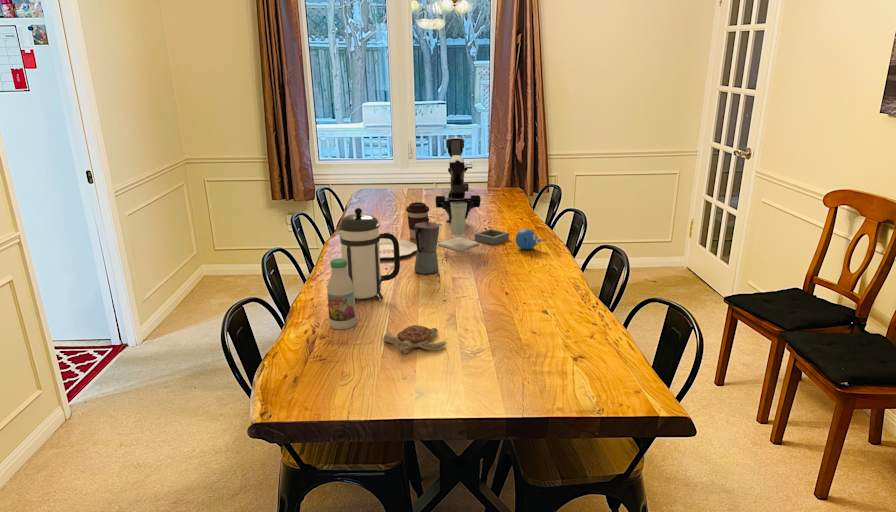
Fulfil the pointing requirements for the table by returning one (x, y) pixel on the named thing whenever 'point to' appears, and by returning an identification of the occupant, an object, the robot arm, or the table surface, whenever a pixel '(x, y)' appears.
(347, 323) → the milk bottle
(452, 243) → the plate
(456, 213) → the grey domed cup
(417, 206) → the coffee cup
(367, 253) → the coffee press
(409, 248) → the plate
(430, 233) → the moka pot
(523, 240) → the blue mole toy
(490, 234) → the holder
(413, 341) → the decorative turtle
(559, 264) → the table surface
